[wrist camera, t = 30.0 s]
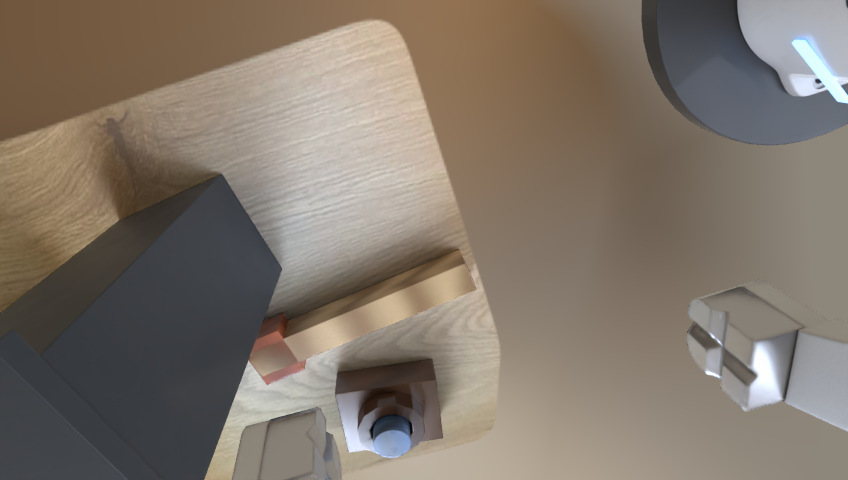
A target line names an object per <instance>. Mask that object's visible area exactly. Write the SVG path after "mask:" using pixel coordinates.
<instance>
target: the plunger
mask: <svg viewBox="0 0 848 480" xmlns="http://www.w3.org/2000/svg"><path fill="white" fill-rule="evenodd" d="M410 446H411V436H410V425H409V422H408V421H407V420H406V419H405V418H404V417H403V416H400V415H396V414H391V415H385V416H382V417H381V418H379V419H378V420H377V421H376V422H375V424H374V427H373V447H374V450H375V451H376V452H377V453H378V454H379V455H381V456H383V457H387V458H395V457H399V456H401V455H403V454H405V453H406V452H407V451H408V450H409V448H410Z"/></svg>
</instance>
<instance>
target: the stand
mask: <svg viewBox="0 0 848 480" xmlns="http://www.w3.org/2000/svg"><path fill="white" fill-rule="evenodd" d="M281 271H282V268H281V266H280V265H279V263H278V261H277V260H276V258H275V257H274V255H273V254H272V252H271V250H270V249H269V247H268V246H267V244H266V243H265V241H264V239H263V238H262V236H261V235H260V233H259V232H258V230H257V228H256V227H255V225H254V224H253V222H252V221H251V219H250V217H249V216H248V214H247V213H246V211H245V210H244V208H243V206H242V205H241V203H240V202H239V200H238V199H237V197H236V195H235V194H234V192H233V191H232V189H231V188H230V186H229V184H228V183H227V181H226V180H225V178H224V177H223V175H222V174H220V175H218V176H216V177H214V178H211V179H209V180H207V181H205V182H203V183H200V184H198V185H196V186H194V187H192V188H190V189H187V190H185V191H183V192H181V193H179V194H176V195H174V196H172V197H170V198H168V199H165V200H163V201H161V202H159V203H157V204H154V205H152V206H150V207H148V208H146V209H144V210H141V211H139V212H137V213H135V214H133V215H130V216H128V217H126V218H124V219H122V220H119V221H118V222H117V223H115V224H114V225H113V226H112V227H110V228H109V229H108V230H106V231H105V232H104V233H103V234H101V235H100V236H99V237H97V238H96V239H95V240H94V241H92V242H91V243H90V244H88V245H87V246H86V247H85V248H83V249H82V250H81V251H79V252H78V253H77V254H76V255H74V256H73V257H72V258H71V259H69V260H68V261H67V262H65V263H64V264H63V265H62V266H60V267H59V268H58V269H56V270H55V271H54V272H53V273H51V274H50V275H49V276H47V277H46V278H45V279H44V280H42V281H41V282H40V283H38V284H37V285H36V286H35V287H33V288H32V289H31V290H29V291H28V292H27V293H26V294H24V295H23V296H22V297H20V298H19V299H18V300H17V301H15V302H14V303H13V304H11V305H10V306H9V307H8V308H6V309H5V310H4V311H2V312H1V313H0V480H204V479H205V476H206V473H207V470H208V468H209V465H210V462H211V460H212V457H213V454H214V452H215V449H216V446H217V444H218V441H219V438H220V435H221V433H222V430H223V427H224V425H225V422H226V419H227V417H228V414H229V411H230V408H231V406H232V403H233V400H234V398H235V395H236V392H237V390H238V387H239V384H240V381H241V379H242V376H243V373H244V371H245V368H246V365H247V363H248V360H249V357H250V355H251V352H252V349H253V346H254V344H255V341H256V338H257V336H258V333H259V330H260V328H261V325H262V322H263V319H264V317H265V314H266V311H267V309H268V306H269V303H270V301H271V298H272V295H273V293H274V290H275V287H276V284H277V282H278V279H279V276H280V274H281Z"/></svg>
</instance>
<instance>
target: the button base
mask: <svg viewBox="0 0 848 480" xmlns="http://www.w3.org/2000/svg"><path fill="white" fill-rule="evenodd" d="M335 396H336V401H337V405H338V409H339V413H340V418H341V422H342V426H343V430H344V435H345V439H346V443H347V448H348V452H349V453H350V452H357V451H363V450H370V451H371V452H374V453H377V452H376V451H375V450H374V447H373V427H374V424H375V422H376V421H377V420H378V419H379V418H381V417H382V416H385V415H391V414H396V415H400V416H403V417H404V418H405V419H406V420H407V421H408V422H409V425H410V436H411V446H410V448H409V450H410V449H412V448H413V447H415V446H417V445H418V444H419V442H422V441H428V440H435V439H441V438H443V433H442V425H441V417H440V408H439V400H438V391H437V383H436V376H435V370H434V365H433V360H432V359H430V360H423V361H416V362H409V363H402V364H395V365H389V366H382V367H375V368H368V369H361V370H354V371H348V372H341V373H337V380H336V389H335ZM409 450H408V451H409Z"/></svg>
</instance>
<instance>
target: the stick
mask: <svg viewBox="0 0 848 480" xmlns="http://www.w3.org/2000/svg"><path fill="white" fill-rule="evenodd" d="M474 290H476V287H475V284H474V281H473V279H472V276H471V274H470V271H469V269H468V267H467V264H466V262H465V260H464V257H463V255H462V253H461V250H460V249H459V250H456V251H454V252H452V253H449V254H447V255H444V256H442V257H440V258H437V259H435V260H432V261H430V262H428V263H425V264H423V265H421V266H418V267H416V268H413V269H411V270H409V271H406V272H404V273H401V274H399V275H397V276H394V277H392V278H389V279H387V280H385V281H382V282H380V283H377V284H375V285H373V286H370V287H368V288H365V289H363V290H361V291H358V292H356V293H353V294H351V295H349V296H346V297H344V298H341V299H339V300H337V301H334V302H332V303H330V304H327V305H325V306H322V307H320V308H318V309H315V310H313V311H310V312H308V313H306V314H303V315H301V316H298V317H296V318H294V319H291V320H289V321H288V319H287V318H286V316H285V315H284V313H281V314H279V315H277V316H274V317H272V318H270V319H267V320H265V321H263V322H262V325H261V328H260V330H259V333H258V336H257V338H256V341H255V344H254V346H253V349H252V352H251V355H250V357H249V361H250V362H251V364H252V365H253V367H254V368H255V369H256V371H257V372H258V373H259V375H260V376H261V377H262V379H263V380H264V381H265V383H266V384H267V385H268V384H271V383H273V382H275V381H278V380H280V379H283V378H285V377H288V376H290V375H293V374H295V373H298V372H300V371H302V370H304V369H305V364H306V359H308V358H310V357H313V356H315V355H318V354H320V353H323V352H325V351H327V350H330V349H332V348H335V347H337V346H340V345H342V344H345V343H347V342H349V341H352V340H354V339H357V338H359V337H362V336H364V335H367V334H369V333H371V332H374V331H376V330H379V329H381V328H384V327H386V326H389V325H391V324H393V323H396V322H398V321H401V320H403V319H406V318H408V317H411V316H413V315H415V314H418V313H420V312H423V311H425V310H428V309H430V308H433V307H435V306H437V305H440V304H442V303H445V302H447V301H450V300H452V299H455V298H457V297H459V296H462V295H464V294H467V293H469V292H472V291H474Z"/></svg>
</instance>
